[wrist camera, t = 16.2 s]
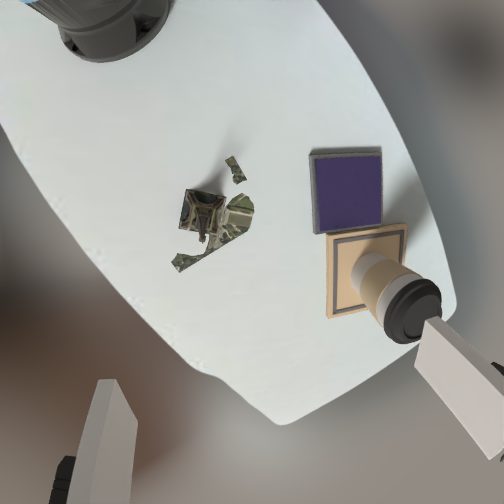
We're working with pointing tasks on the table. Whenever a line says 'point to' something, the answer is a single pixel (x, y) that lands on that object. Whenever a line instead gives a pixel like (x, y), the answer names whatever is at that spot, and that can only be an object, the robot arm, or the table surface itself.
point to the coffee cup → (396, 296)
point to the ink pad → (346, 191)
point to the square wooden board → (345, 256)
